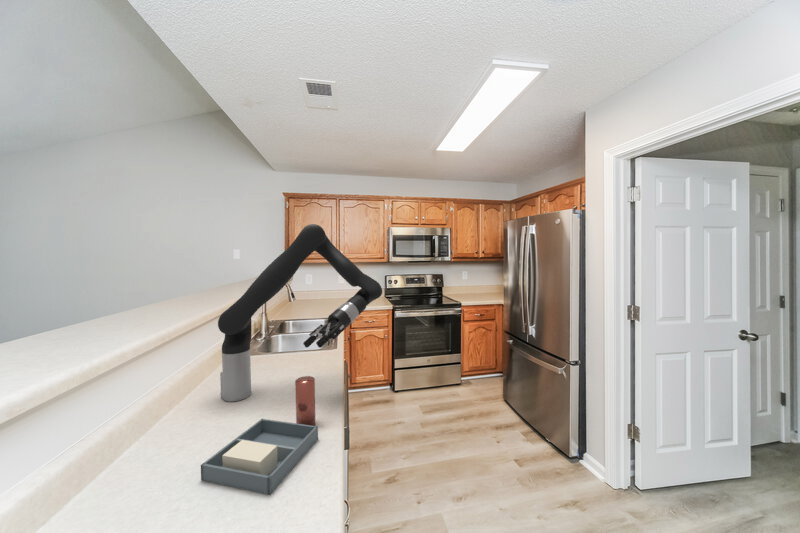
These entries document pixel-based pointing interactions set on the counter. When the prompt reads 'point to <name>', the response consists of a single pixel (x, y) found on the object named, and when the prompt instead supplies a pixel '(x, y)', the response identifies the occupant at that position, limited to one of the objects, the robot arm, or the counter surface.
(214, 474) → the tray
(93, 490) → the counter surface
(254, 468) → the cream block
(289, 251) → the robot arm
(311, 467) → the counter surface
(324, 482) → the counter surface
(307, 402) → the copper cylinder
